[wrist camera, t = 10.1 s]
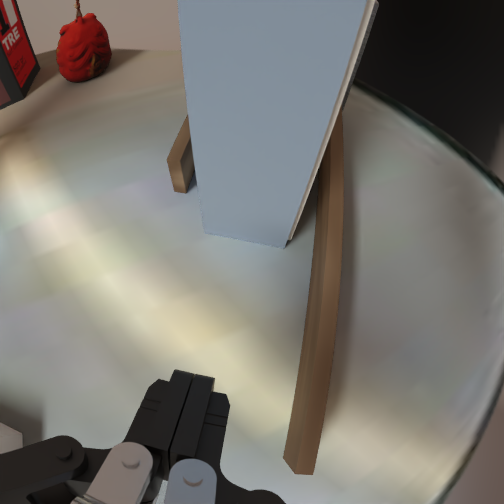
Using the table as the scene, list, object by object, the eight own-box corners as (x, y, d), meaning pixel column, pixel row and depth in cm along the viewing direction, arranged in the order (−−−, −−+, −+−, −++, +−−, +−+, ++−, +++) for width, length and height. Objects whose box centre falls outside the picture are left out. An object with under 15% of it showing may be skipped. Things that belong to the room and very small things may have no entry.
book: (204, 233, 23) (174, -97, 4) (243, 106, 29) (259, -92, 10) (288, 249, 23) (399, -71, 4) (305, 117, 29) (351, -77, 10)
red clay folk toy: (99, 54, 34) (80, -29, 20) (125, 62, 33) (108, -33, 19) (58, 82, 31) (28, -4, 18) (80, 93, 30) (48, -7, 16)
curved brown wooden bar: (112, 420, 17) (87, 426, 13) (218, 86, 30) (218, 56, 27) (297, 459, 17) (312, 474, 13) (330, 105, 30) (339, 77, 27)
